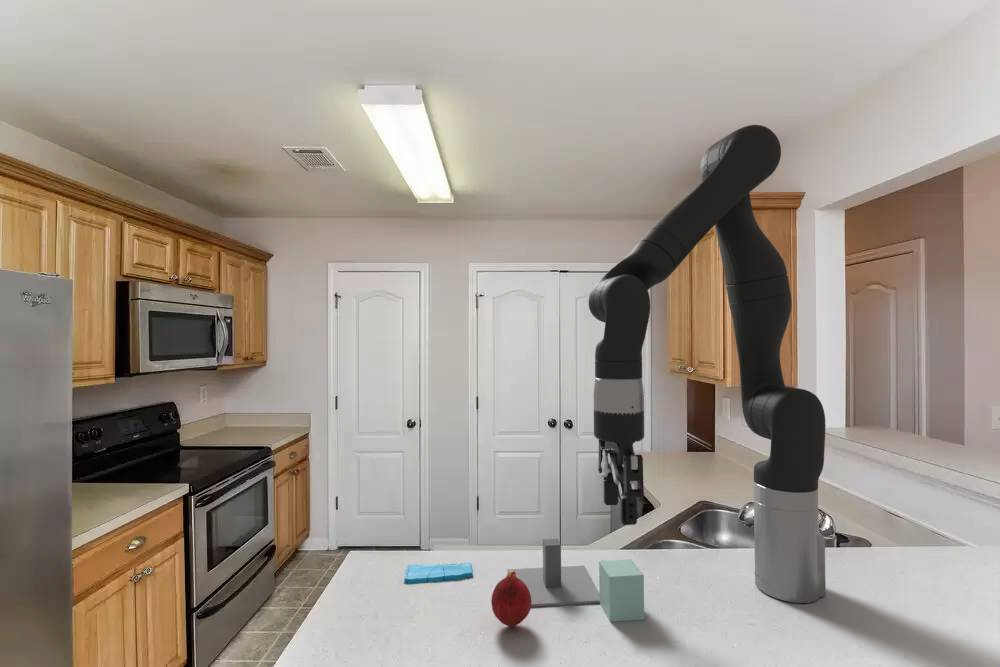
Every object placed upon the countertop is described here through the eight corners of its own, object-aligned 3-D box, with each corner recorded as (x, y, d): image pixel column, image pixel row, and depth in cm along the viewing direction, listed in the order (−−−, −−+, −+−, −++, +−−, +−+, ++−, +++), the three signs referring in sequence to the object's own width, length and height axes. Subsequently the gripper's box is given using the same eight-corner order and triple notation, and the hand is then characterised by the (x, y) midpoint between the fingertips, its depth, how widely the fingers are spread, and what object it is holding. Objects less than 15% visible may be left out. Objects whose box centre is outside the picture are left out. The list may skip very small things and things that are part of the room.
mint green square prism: (631, 601, 80) (631, 559, 80) (644, 619, 74) (643, 574, 74) (599, 603, 79) (599, 561, 79) (609, 621, 74) (609, 576, 74)
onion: (528, 641, 69) (527, 583, 70) (487, 636, 71) (487, 579, 71) (534, 617, 75) (533, 564, 75) (496, 614, 76) (495, 561, 76)
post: (558, 579, 86) (557, 538, 86) (561, 587, 83) (560, 544, 83) (543, 580, 86) (542, 539, 86) (545, 588, 83) (545, 545, 83)
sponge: (472, 579, 86) (473, 559, 92) (402, 580, 86) (407, 561, 92) (472, 587, 86) (473, 567, 92) (402, 589, 86) (407, 569, 92)
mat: (584, 567, 91) (584, 565, 91) (603, 602, 79) (603, 600, 79) (507, 571, 90) (507, 569, 90) (514, 607, 78) (514, 605, 78)
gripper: (661, 414, 70) (661, 530, 70) (627, 401, 84) (627, 498, 84) (608, 415, 70) (609, 532, 69) (583, 401, 84) (583, 499, 84)
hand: (619, 513), depth 77 cm, fingers open, 8 cm apart
